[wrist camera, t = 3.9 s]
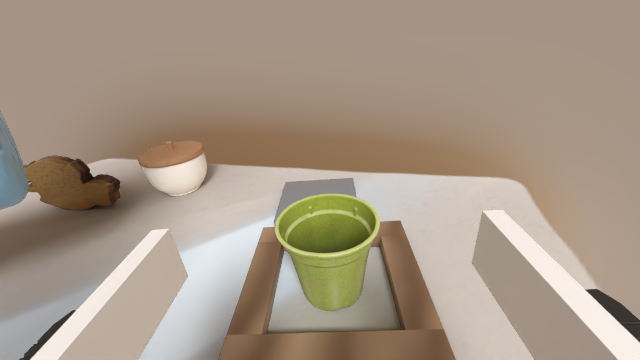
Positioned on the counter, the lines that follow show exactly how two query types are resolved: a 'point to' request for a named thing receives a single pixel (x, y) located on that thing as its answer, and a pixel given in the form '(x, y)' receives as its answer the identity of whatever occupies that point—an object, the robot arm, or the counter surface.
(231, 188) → the counter surface
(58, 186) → the wooden carving
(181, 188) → the lidded jar
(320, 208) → the plant pot
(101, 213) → the counter surface
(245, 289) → the walnut frame
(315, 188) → the charcoal mat
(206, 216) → the counter surface
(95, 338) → the robot arm
